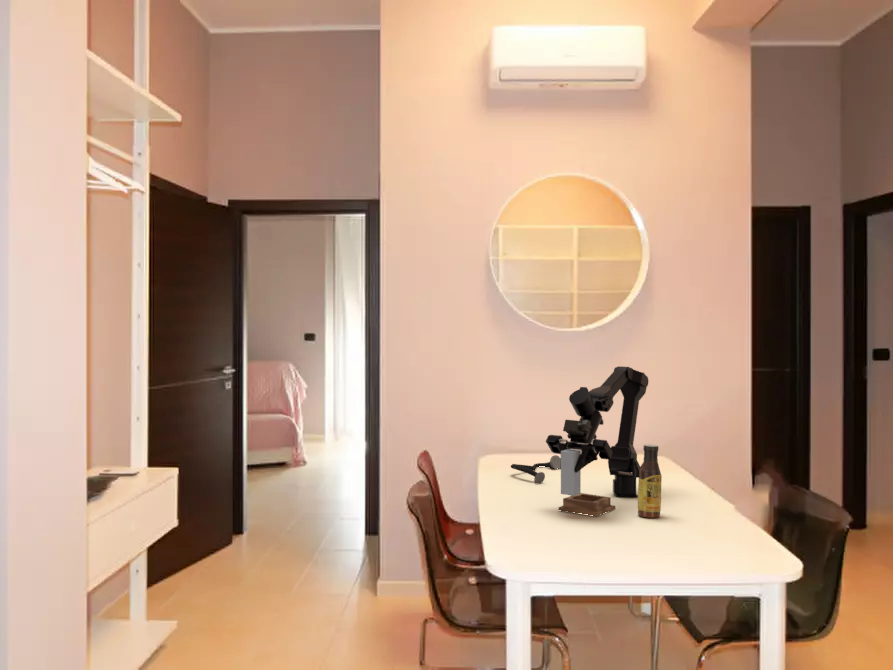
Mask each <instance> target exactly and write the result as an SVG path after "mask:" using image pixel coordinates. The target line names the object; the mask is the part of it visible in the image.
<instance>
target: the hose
mask: <svg viewBox="0 0 893 670" xmlns="http://www.w3.org/2000/svg"><path fill="white" fill-rule="evenodd" d="M560 461H561V456H559V455H553V456H551V457H550V460H549V461H548V462H538V463H534V464H533V465H528V464H527V465H526V464H516V463H512V464H511V465H510V468H511V469H513V470H515V471H516V470H517V471H520V472H522V473H526V474H528V475H530V476H533V477H534V480H533V481H534V484H535V483H539V484H542V483H543V482H544V481H545V478H546V473H545V472H543V471H540V472H538V471H537V472H536V470H537V468H536V467H539V466H545V467H550V468H549V469H553V468H554V469H553V470H555V469H557V468H560ZM539 468H540V467H539ZM535 469H536V470H535ZM533 470H534V471H533ZM541 482H542V483H541Z"/></svg>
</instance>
